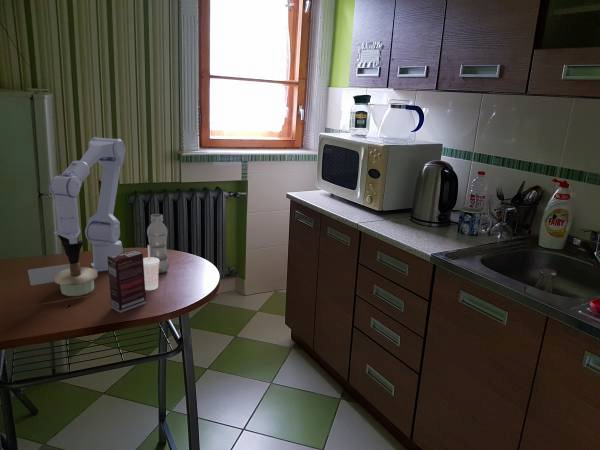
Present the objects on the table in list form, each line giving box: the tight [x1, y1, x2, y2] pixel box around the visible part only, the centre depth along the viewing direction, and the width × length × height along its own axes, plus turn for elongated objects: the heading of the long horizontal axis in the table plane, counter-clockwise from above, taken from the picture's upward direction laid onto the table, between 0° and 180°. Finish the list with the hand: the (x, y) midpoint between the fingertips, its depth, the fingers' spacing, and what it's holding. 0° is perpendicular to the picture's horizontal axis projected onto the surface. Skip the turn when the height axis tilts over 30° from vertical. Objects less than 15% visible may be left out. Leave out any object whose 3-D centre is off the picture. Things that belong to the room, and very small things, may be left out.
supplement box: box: [107, 249, 147, 314], centre depth 133 cm, size 9×5×16 cm, turn 141°
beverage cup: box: [143, 244, 160, 291], centre depth 146 cm, size 6×6×14 cm
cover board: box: [53, 261, 98, 285], centre depth 141 cm, size 12×12×4 cm
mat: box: [27, 263, 70, 287], centre depth 153 cm, size 14×14×1 cm
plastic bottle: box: [146, 213, 170, 274], centre depth 157 cm, size 6×7×20 cm
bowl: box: [59, 279, 95, 298], centre depth 143 cm, size 9×9×4 cm
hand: (72, 259), depth 143 cm, fingers open, 7 cm apart
